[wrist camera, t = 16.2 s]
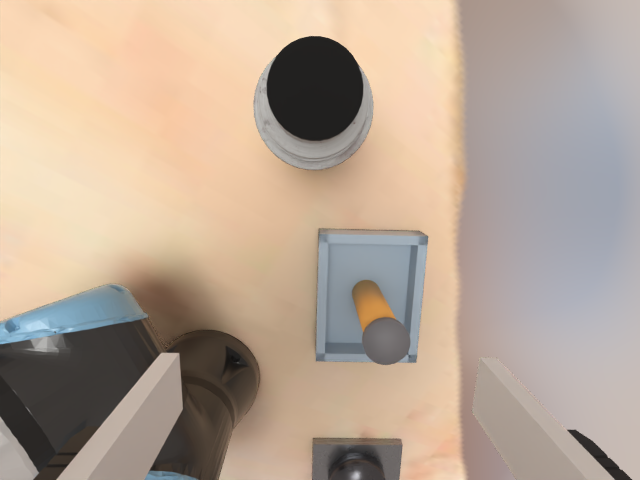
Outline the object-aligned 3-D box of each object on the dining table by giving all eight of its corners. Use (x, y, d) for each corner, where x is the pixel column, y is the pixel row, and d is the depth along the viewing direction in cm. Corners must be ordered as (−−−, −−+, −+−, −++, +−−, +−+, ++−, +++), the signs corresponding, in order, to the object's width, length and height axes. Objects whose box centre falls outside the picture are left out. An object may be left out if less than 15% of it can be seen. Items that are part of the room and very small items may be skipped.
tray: (315, 346, 50) (315, 361, 46) (318, 228, 46) (319, 233, 43) (408, 348, 50) (416, 362, 47) (419, 230, 47) (428, 236, 43)
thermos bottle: (270, 142, 44) (200, 100, 17) (309, 92, 43) (300, -44, 15) (318, 181, 45) (324, 201, 18) (356, 133, 44) (427, 76, 16)
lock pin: (348, 308, 48) (362, 364, 34) (349, 276, 47) (364, 321, 33) (381, 309, 48) (408, 365, 35) (383, 277, 47) (412, 321, 34)
